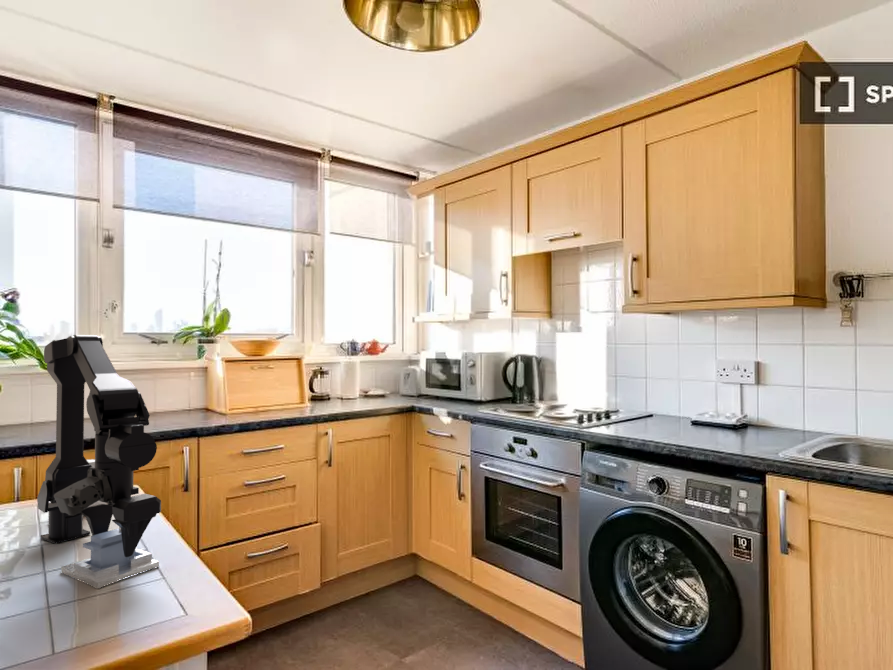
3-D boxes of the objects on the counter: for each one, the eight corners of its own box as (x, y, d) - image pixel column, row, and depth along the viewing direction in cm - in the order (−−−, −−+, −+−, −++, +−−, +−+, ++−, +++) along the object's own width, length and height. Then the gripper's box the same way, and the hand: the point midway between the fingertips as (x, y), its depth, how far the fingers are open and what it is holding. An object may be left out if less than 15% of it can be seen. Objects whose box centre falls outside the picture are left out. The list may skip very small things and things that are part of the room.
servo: (93, 575, 90) (93, 536, 90) (82, 571, 92) (83, 533, 92) (142, 559, 97) (142, 523, 97) (131, 555, 98) (131, 520, 99)
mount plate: (61, 572, 93) (61, 559, 94) (121, 553, 102) (121, 541, 102) (97, 588, 87) (97, 574, 87) (158, 567, 96) (158, 554, 96)
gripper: (35, 462, 92) (34, 555, 92) (92, 476, 83) (91, 580, 82) (104, 451, 102) (104, 536, 102) (163, 462, 92) (162, 556, 92)
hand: (113, 551), depth 94 cm, fingers open, 9 cm apart
